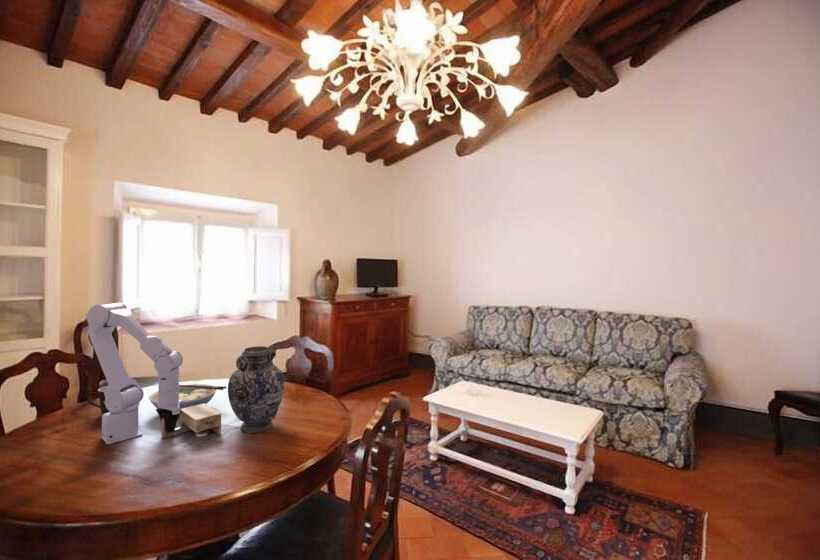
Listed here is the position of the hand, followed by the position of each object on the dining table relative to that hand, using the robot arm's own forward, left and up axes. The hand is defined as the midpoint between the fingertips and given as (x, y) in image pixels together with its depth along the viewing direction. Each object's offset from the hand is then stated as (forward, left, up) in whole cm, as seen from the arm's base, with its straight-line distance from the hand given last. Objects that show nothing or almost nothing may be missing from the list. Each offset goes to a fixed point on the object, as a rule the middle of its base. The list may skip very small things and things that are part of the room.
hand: (168, 430), depth 126 cm
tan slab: (+8, -3, -2) cm, 9 cm away
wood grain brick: (+5, 0, -2) cm, 5 cm away
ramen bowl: (+11, +21, -2) cm, 24 cm away
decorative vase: (+23, -13, -2) cm, 27 cm away
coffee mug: (-9, +38, -2) cm, 39 cm away
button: (+8, -6, -2) cm, 10 cm away
